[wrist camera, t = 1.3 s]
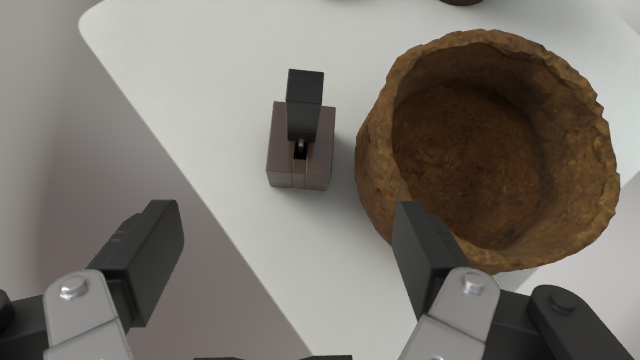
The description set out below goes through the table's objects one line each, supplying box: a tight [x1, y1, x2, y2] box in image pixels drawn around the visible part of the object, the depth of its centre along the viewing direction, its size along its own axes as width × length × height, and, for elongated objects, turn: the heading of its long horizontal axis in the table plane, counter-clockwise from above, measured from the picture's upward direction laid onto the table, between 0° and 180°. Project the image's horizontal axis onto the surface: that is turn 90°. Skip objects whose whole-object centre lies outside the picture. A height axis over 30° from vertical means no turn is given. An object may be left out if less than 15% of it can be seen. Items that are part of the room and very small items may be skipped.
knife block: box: [266, 101, 336, 191], centre depth 35 cm, size 6×7×6 cm
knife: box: [286, 69, 324, 160], centre depth 30 cm, size 2×3×16 cm
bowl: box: [355, 29, 620, 276], centre depth 31 cm, size 19×19×15 cm
